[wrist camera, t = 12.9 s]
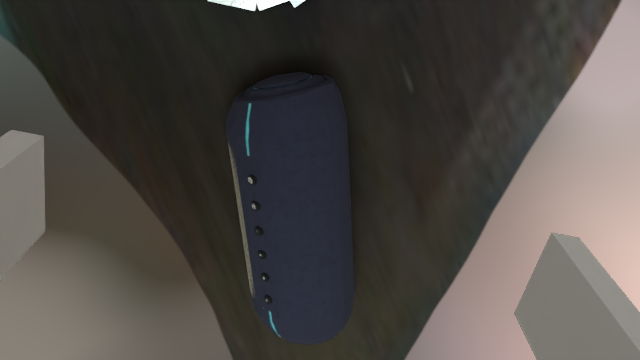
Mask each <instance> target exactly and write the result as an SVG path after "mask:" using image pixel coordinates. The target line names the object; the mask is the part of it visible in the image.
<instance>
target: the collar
mask: <svg viewBox="0 0 640 360" xmlns="http://www.w3.org/2000/svg"><path fill="white" fill-rule="evenodd" d="M207 1H210V2H215V3H220V4H224V5H229V6H233V7H238V8H243V9H247V10H252V11H255V10H256V9H257V8H258V9H259V11H260V10H263V9H266V8H269V7H272V6H275V5H278V4H281V3H284V2H286V1H289V0H207ZM304 1H305V0H290V2H291V4H292V5H293V7H294V8H295V7H297V6H298V5H299V4H301V3H302V2H304Z"/></svg>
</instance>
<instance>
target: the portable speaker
mask: <svg viewBox="0 0 640 360" xmlns="http://www.w3.org/2000/svg"><path fill="white" fill-rule="evenodd" d="M225 127H226V134H227V141H228V146H229V153H230V159H231V166H232V173H233V179H234V185H235V193H236V199H237V205H238V213H239V219H240V226H241V232H242V238H243V245H244V252H245V258H246V265H247V271H248V278H249V284H250V292H251V298H252V301H253V305H254V309H255V311H256V312H257V314H258V315H259V317H260V318H261V320H262V321H263V323H264V324H265V325H266V326H267V327H268V328H269V329H270V330H271V331H272V332H273V333H275V334H276V335H278V336H279V337H282V338H284V339H285V340H287V341H289V342H291V343H298V344H306V345H311V344H318V343H322V342H325V341H327V340H330V339H332V338H334V337H335V336H336V335H337V334H338V333H339V332H340V331H342V330H343V329H344V327H345V325H346V323H347V322H348V320H349V317H350V315H351V311H352V305H353V298H354V290H355V276H354V255H353V234H352V213H351V192H350V171H349V150H348V129H347V118H346V114H345V109H344V104H343V100H342V95H341V91H340V90H339V88H338V86H337V85H336V83H335V81H334V79H333V78H332V77H331V76H325V75H314V74H309V73H305V72H294V73H287V74H280V75H274V76H272V77H269V78H267V79H264V80H261V81H259V82H257V83H256V84H255V85H253V86H251V87H249V88H248V89H247V90H245V91H243V92H242V93H240V94H238V95H236V97H235V98H234V101H233V103H232V105H231V107H230V110H229V112H228V115H227V121H226V126H225Z"/></svg>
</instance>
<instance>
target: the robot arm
mask: <svg viewBox="0 0 640 360" xmlns="http://www.w3.org/2000/svg"><path fill="white" fill-rule="evenodd" d="M44 232H45V187H44V136H41V135H36V134H30V133H26V132H20V131H15V130H11V131H9V132H7V133H6V134H4V135H3V136H1V137H0V281H1V280H2V279H3V277H4V276H5V275H6V274H7V273H8V272H9V271H10V270H11V269H12V267H13V266H14V265H15V264H16V263H17V262H18V261H19V259H20V258H22V256H23V255H24V254H25V253H26V252H27V251H28V250H29V249H30V247H31V246H32V245H33V244H34V243H35V242H36V241H37V240H38V238H40V236H41V235H42V234H43V233H44ZM514 314H515V316H516V318H517V320H518V322H519V324H520V326H521V328H522V330H523V332H524V335H525V336H526V339H527V341H528V343H529V344H530V347H531V349H532V351H533V353H534V355H535V357H536V359H537V360H640V312H639V311H638V310H637V308H636V307H635V306H634V305H633V304H632V302H631V301H630V300H629V299H628V297H627V296H626V295H625V294H624V292H623V291H622V290H621V289H620V288H619V286H618V285H617V284H616V283H615V281H614V280H613V279H612V278H611V277H610V275H609V274H608V273H607V272H606V270H605V269H604V268H603V267H602V265H601V264H600V263H599V262H598V261H597V259H596V258H595V257H594V256H593V254H592V253H591V252H590V251H589V250H588V248H587V247H586V246H585V245H584V243H583V242H582V241H581V240H580V239H579V238H578V237H573V236H568V235H563V234H557V233H551V235H550V237H549V239H548V241H547V244H546V246H545V248H544V250H543V252H542V254H541V257H540V259H539V261H538V263H537V265H536V267H535V270H534V272H533V274H532V276H531V278H530V280H529V282H528V285H527V287H526V289H525V291H524V293H523V295H522V298H521V300H520V302H519V304H518V306H517V308H516V310H515V313H514Z"/></svg>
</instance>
